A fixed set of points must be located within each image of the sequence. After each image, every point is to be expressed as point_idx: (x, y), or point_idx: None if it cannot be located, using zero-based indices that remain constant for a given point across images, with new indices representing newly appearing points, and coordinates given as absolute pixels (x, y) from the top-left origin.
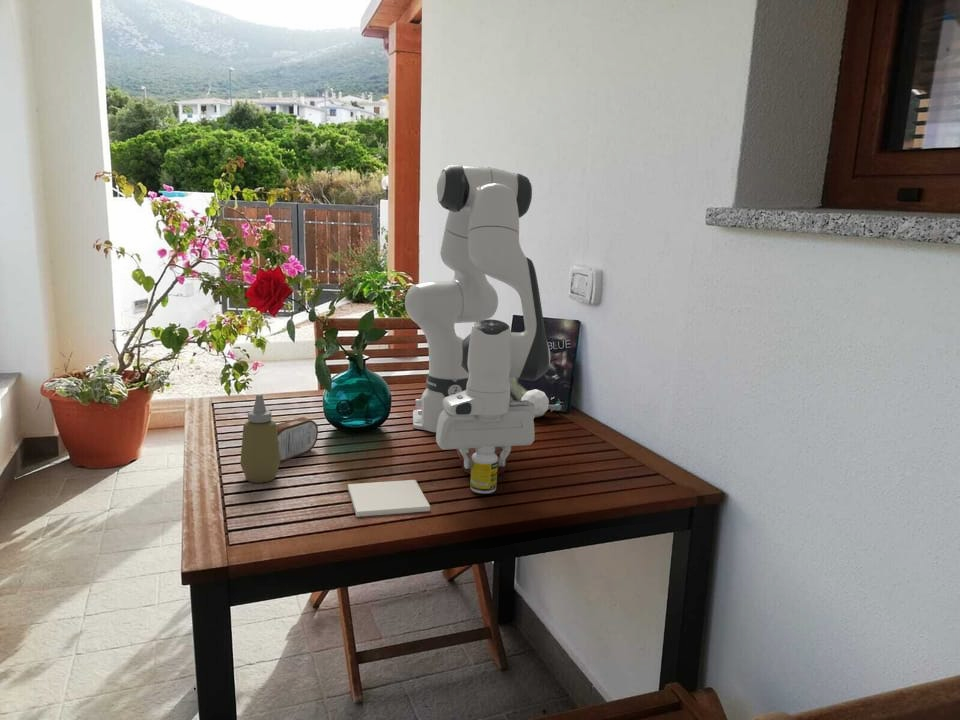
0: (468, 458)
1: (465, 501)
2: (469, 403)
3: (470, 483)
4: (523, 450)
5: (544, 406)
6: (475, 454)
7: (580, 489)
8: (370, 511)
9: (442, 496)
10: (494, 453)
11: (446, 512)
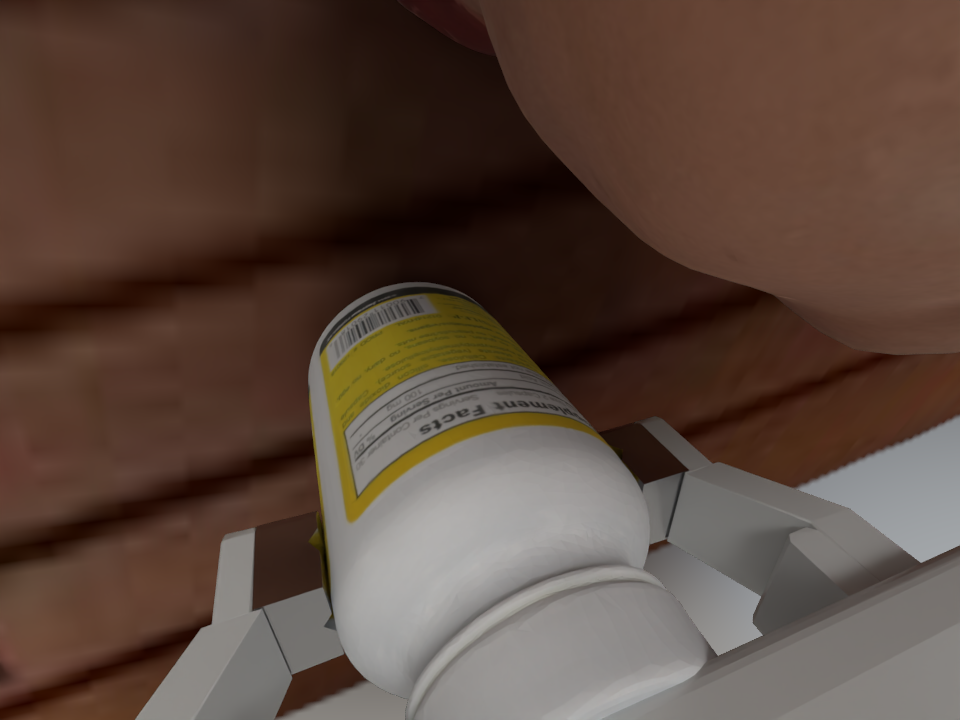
0: (282, 620)
1: (260, 502)
2: None
3: (309, 400)
4: None
5: None
6: (391, 659)
7: None
8: None
9: (55, 451)
10: (642, 557)
11: (130, 645)
